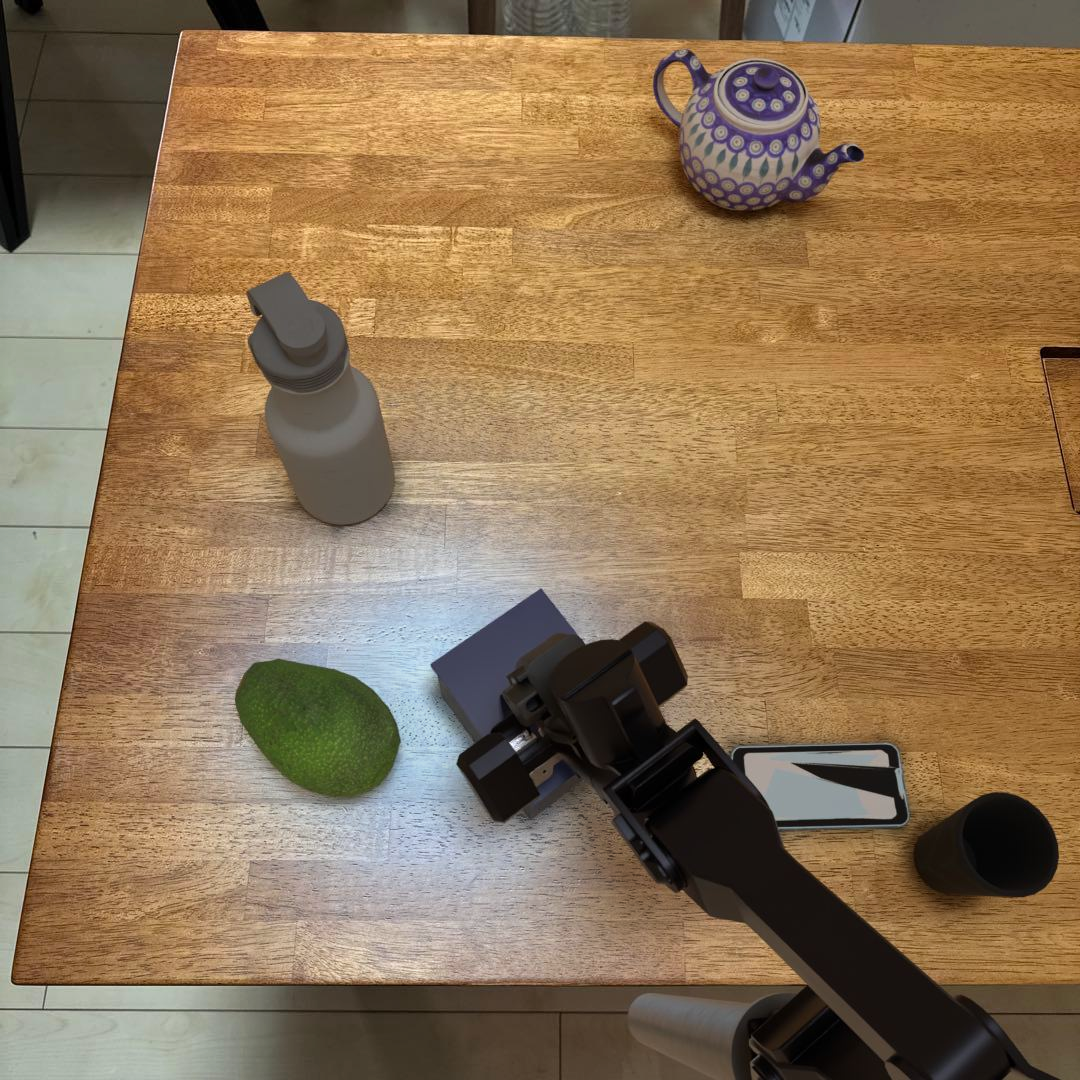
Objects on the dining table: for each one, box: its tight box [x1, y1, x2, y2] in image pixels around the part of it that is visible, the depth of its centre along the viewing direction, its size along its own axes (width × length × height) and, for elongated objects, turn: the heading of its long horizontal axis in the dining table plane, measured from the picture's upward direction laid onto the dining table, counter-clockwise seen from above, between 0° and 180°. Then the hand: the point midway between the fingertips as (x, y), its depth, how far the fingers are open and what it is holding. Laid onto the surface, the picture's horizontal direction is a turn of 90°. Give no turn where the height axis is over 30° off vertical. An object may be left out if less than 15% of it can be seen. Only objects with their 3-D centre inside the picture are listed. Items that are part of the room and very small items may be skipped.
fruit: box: [234, 658, 402, 798], centre depth 86 cm, size 15×10×10 cm, turn 55°
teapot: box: [652, 48, 865, 211], centre depth 110 cm, size 25×15×15 cm, turn 51°
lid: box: [429, 588, 579, 808], centre depth 83 cm, size 14×12×4 cm
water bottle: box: [245, 271, 396, 526], centre depth 87 cm, size 10×10×28 cm
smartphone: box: [729, 741, 911, 831], centre depth 89 cm, size 7×1×15 cm
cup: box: [912, 791, 1060, 898], centre depth 82 cm, size 8×8×12 cm
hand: (529, 680), depth 85 cm, fingers closed on lid, 5 cm apart
